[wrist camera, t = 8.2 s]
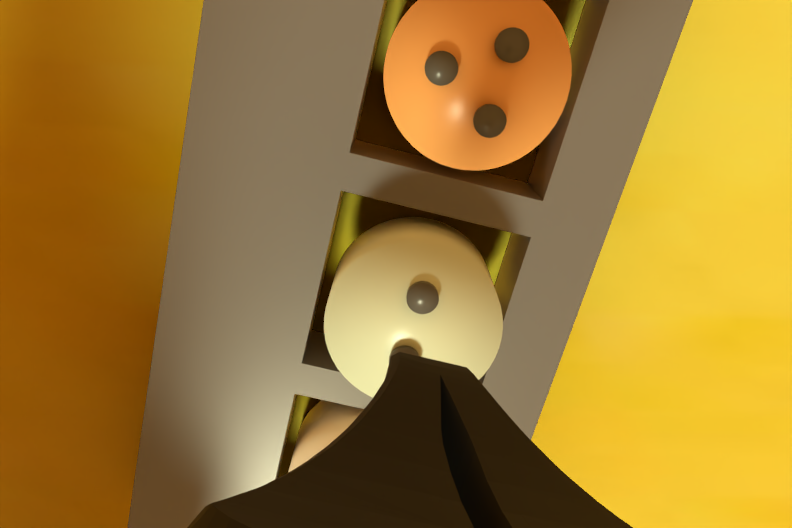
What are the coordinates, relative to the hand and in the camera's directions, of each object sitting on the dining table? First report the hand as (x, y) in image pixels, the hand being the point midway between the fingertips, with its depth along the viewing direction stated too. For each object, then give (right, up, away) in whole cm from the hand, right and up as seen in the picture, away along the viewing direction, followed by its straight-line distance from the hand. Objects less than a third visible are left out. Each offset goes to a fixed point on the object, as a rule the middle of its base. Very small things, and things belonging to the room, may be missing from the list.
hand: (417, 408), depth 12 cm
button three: (+1, +7, +5) cm, 9 cm away
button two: (0, +2, +5) cm, 5 cm away
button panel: (-1, +2, +6) cm, 7 cm away
